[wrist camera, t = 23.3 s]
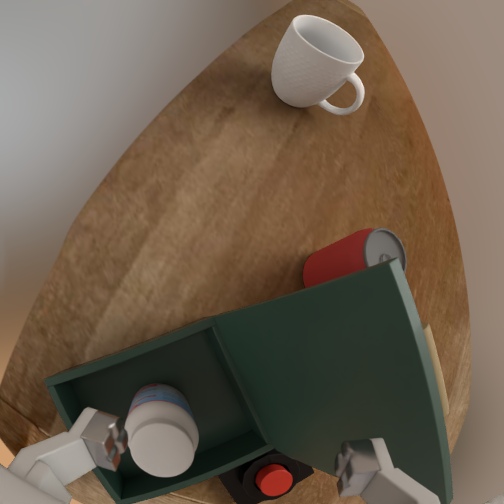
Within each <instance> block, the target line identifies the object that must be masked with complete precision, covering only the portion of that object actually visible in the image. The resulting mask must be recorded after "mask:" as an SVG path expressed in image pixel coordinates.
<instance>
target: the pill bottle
mask: <svg viewBox="0 0 504 504" xmlns="http://www.w3.org/2000/svg"><path fill="white" fill-rule="evenodd" d="M124 429H125V430H126V431H127V433H128V446H129V448H130V451H131V455H132V458H133V460H134V461H135V463H136V464H137V465H138V466H139V467H140V468H141V469H142V470H144V471H145V472H147V473H149V474H151V475H154V476H158V477H173V476H177V475H179V474H181V473H183V472H184V471H186V470H187V469H188V468H189V467H190V466H191V464H192V462H193V459H194V454H195V451H196V449H197V446H198V442H199V434H198V429H197V426H196V423H195V420H194V417H193V415H192V412H191V409H190V406H189V403H188V401H187V399H186V398H185V396H184V395H183V394H182V393H181V392H180V391H179V390H177V389H175V388H174V387H172V386H169V385H166V384H160V383H154V384H149V385H146V386H144V387H143V388H141V389H140V390H139V391H138V392H137V393H136V395H135V396H134V398H133V401H132V404H131V407H130V409H129V413H128V416H127V419H126V423H125V428H124Z"/></svg>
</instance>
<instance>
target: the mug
mask: <svg viewBox="0 0 504 504" xmlns="http://www.w3.org/2000/svg"><path fill="white" fill-rule="evenodd" d="M363 59H364V54H363V51H362V49H361V47H360V46H359V44H358V43H357V42H356V40H355V39H354V38H353V37H352V36H351V35H349V34H348V33H347V32H346V31H344V30H343V29H342V28H340V27H338V26H337V25H335V24H333V23H331V22H329V21H327V20H325V19H322V18H319V17H316V16H311V15H300V16H297V17H295V18H294V19H293V20H292V22H291V24H290V26H289V28H288V29H287V31H286V33H285V35H284V37H283V38H282V40H281V42H280V44H279V46H278V49H277V51H276V54H275V56H274V61H273V65H272V73H271V77H272V78H271V80H272V86H273V89H274V91H275V93H276V95H277V96H278V97H279V98H280V99H281V100H282V101H283V102H285V103H287V104H289V105H291V106H294V107H301V108H303V107H309V106H312V105H315V104H317V105H319V106H320V107H322V108H323V109H325V110H327V111H328V112H330V113H333V114H336V115H348V114H350V113H352V112H354V111H355V110H357V109H358V108H359V107H360V105H361V104H362V102H363V99H364V86H363V84H362V82H361V80H360V79H359V77H358V76H357V75H356V74H355V73H354V71H355V70H356V69H357V67H358V66H359V65H360V64H361V63H362V61H363ZM347 80H348V81H349V82H351V83H352V84H353V85H354V87H355V89H356V92H357V97H356V100H355V102H354V104H353V105H352V106H351V107H348V108H345V109H342V108H337V107H334V106H332V105H331V104H329V103H328V102H327V101H326V100H325V99H327V98H328V97H330V96H331V95H332V94H333V93H335V92H336V91H337V90H338V89H339V88H340V87H341V86H342V85H343V84H344V83H345V82H346V81H347Z"/></svg>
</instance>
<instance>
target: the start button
mask: <svg viewBox="0 0 504 504" xmlns="http://www.w3.org/2000/svg"><path fill="white" fill-rule="evenodd" d="M292 481H293V479H292V475H291V474H290V473H289V472H288V471H287V470H286V469H285V468H284V467H283V466H281V465H278V464H271V465H268V466H265V467H263V468H262V469H261V470H260V471H259V472H258V473H257V475H256V484H257V485H258V487H259V488H260V489H261V491H262V492H263V493H264V494H266V495H269V496H277V495H280V494H283V493H284V492H286V491H287V490H288V489H289V488H290V486H291V485H292Z"/></svg>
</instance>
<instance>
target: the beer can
mask: <svg viewBox="0 0 504 504" xmlns="http://www.w3.org/2000/svg"><path fill="white" fill-rule="evenodd" d="M395 257H398V259H399V261H400V264H401V266H402V269H403V272H404V274H405V272H406V265H407V259H406V252H405V249H404V246H403V244H402V243H401V241H400V239H399V238H398V237H397V236H396V235H395V234H394V232H392V231H390V230H389V229H386V228H377V229H371V228H369V229H364V230H360V231H357V232H355V233H353V234H351V235H349V236H347V237H345V238H343V239H341V240H339V241H337V242H335V243H333V244H331V245H329V246H327V247H325V248H323V249H321V250H319V251H316V252H315V253H313V254H312V255H311V256H309V258H308V259H307V261H306V262H305V265H304V269H303V281H304V284H305V288H308V287H311V286H314V285H317V284H320V283H323V282H326V281H329V280H332V279H335V278H338V277H341V276H344V275H347V274H350V273H353V272H356V271H359V270H362V269H364V268H367V267H370V266H373V265H376V264H379V263H381V262H384V261H387V260H390V259H393V258H395Z"/></svg>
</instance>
